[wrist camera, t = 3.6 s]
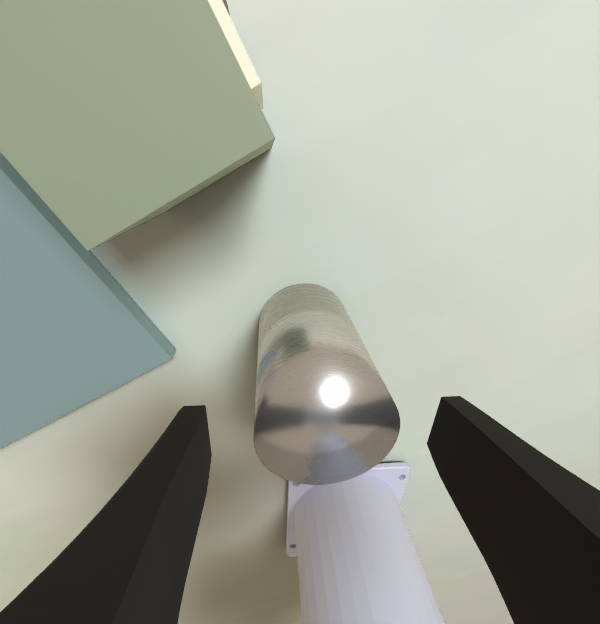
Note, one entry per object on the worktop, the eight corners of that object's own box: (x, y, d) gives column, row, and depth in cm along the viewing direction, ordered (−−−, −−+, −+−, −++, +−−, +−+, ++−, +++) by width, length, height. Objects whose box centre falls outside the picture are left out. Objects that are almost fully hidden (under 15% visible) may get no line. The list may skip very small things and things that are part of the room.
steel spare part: (342, 360, 17) (387, 480, 10) (259, 362, 16) (255, 489, 10) (351, 283, 15) (413, 374, 9) (258, 283, 14) (251, 379, 8)
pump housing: (164, 212, 13) (87, 250, 7) (16, 5, 10) (-302, -192, 4) (281, 141, 12) (293, 126, 6) (162, -106, 9) (2, -512, 4)
